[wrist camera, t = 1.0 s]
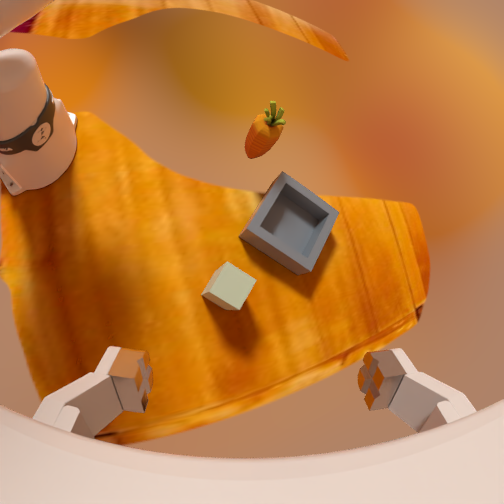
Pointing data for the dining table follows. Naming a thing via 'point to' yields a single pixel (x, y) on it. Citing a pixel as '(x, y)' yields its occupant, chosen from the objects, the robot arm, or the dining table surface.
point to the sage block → (229, 287)
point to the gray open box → (290, 225)
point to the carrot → (264, 132)
